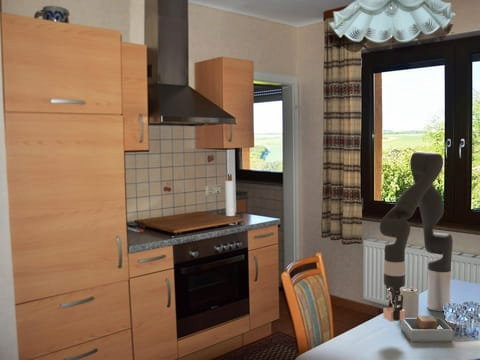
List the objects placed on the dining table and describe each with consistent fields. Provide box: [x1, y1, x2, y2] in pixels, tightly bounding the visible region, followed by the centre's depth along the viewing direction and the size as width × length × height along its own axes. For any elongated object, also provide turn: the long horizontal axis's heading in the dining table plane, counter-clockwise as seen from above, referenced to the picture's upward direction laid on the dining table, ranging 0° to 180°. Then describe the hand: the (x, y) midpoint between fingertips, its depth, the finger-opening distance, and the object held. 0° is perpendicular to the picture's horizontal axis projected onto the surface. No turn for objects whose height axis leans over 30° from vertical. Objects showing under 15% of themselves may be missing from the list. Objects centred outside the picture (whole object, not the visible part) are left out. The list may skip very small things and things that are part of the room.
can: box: [400, 286, 420, 318], centre depth 201 cm, size 8×8×12 cm
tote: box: [401, 317, 454, 343], centre depth 182 cm, size 12×15×4 cm
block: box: [417, 315, 437, 330], centre depth 182 cm, size 6×6×6 cm
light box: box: [382, 305, 405, 323], centre depth 177 cm, size 4×6×4 cm
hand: (394, 316), depth 178 cm, fingers closed on light box, 5 cm apart
